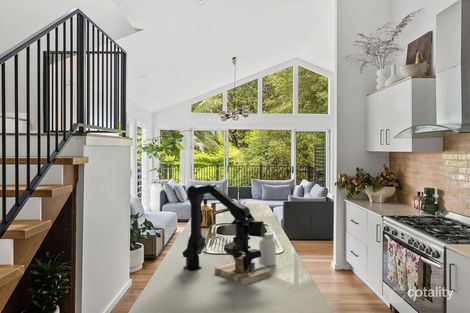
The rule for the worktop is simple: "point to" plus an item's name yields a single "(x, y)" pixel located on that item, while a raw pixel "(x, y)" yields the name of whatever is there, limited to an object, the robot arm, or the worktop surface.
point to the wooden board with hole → (246, 278)
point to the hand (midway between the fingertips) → (242, 269)
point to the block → (240, 265)
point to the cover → (255, 266)
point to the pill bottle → (268, 250)
